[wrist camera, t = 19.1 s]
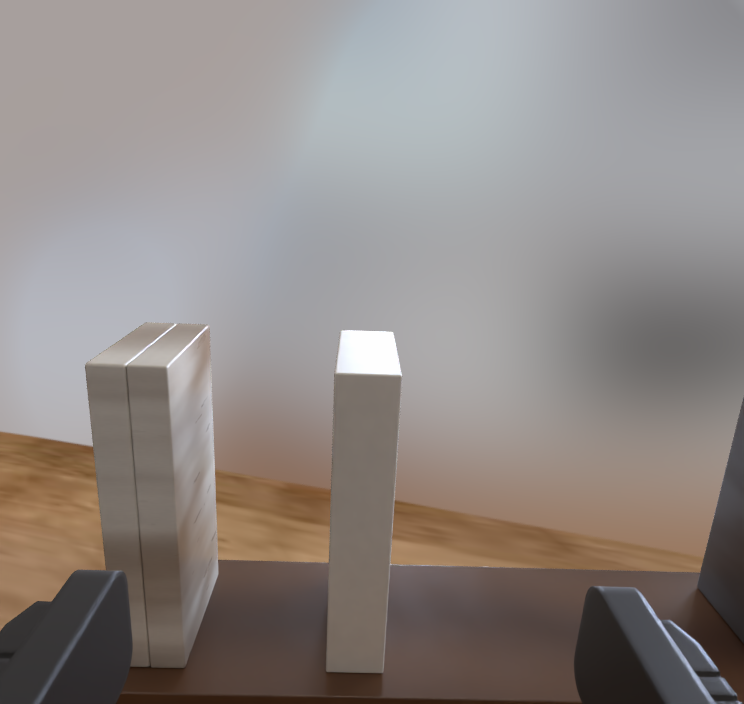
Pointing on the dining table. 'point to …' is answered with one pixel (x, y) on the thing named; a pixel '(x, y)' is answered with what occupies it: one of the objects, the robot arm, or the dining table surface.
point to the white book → (362, 499)
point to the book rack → (310, 579)
